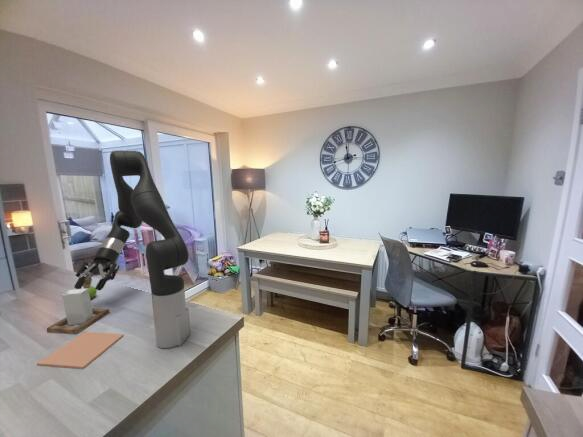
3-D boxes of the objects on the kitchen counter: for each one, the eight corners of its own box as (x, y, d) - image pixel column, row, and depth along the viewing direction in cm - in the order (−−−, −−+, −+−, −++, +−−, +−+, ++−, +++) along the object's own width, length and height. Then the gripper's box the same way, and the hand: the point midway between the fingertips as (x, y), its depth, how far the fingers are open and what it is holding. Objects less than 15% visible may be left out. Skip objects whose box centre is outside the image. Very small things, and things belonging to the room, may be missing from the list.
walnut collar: (109, 312, 92) (109, 309, 92) (76, 334, 79) (76, 329, 79) (83, 311, 93) (83, 308, 93) (47, 332, 80) (46, 328, 80)
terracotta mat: (123, 336, 78) (123, 334, 78) (83, 368, 64) (83, 366, 64) (85, 333, 79) (84, 331, 79) (37, 365, 66) (37, 363, 66)
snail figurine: (76, 303, 99) (73, 276, 97) (85, 296, 105) (82, 270, 103) (92, 301, 101) (88, 275, 99) (99, 294, 107) (96, 269, 105)
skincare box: (94, 317, 89) (90, 287, 87) (86, 324, 84) (81, 292, 83) (75, 319, 88) (70, 288, 86) (66, 326, 83) (61, 294, 81)
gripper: (87, 246, 96) (61, 284, 86) (119, 247, 94) (97, 286, 85) (100, 254, 102) (77, 291, 92) (131, 255, 100) (111, 293, 91)
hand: (87, 289), depth 88 cm, fingers open, 8 cm apart
